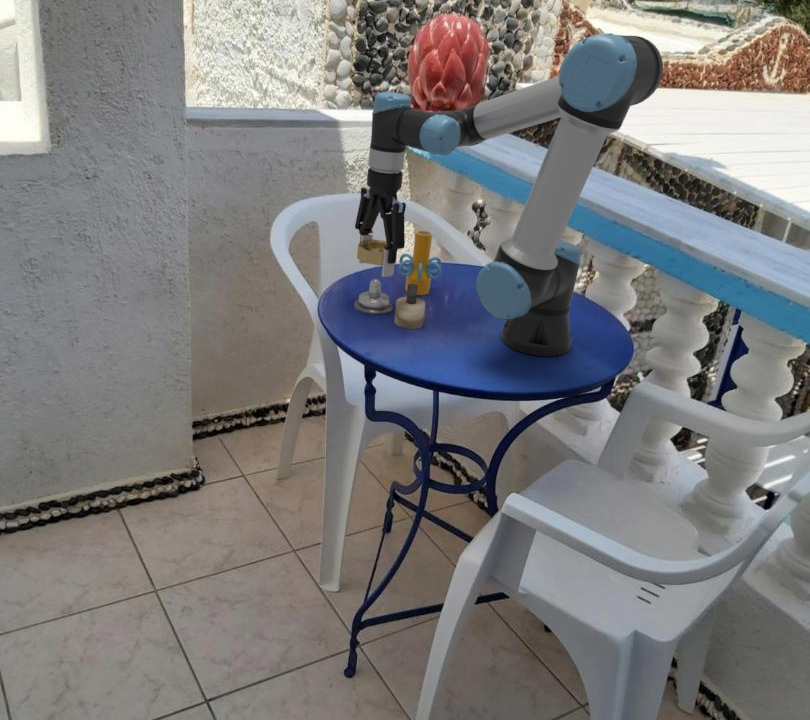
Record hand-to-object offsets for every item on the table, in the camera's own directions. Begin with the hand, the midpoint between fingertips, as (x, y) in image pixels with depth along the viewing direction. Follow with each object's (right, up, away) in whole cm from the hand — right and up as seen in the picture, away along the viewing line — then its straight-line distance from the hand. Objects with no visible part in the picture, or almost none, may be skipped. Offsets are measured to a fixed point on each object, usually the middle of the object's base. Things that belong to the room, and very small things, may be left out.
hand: (375, 268), depth 174 cm
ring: (0, +2, -1) cm, 2 cm away
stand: (+7, -12, -3) cm, 15 cm away
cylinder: (+10, -4, +16) cm, 19 cm away
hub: (-1, -8, +4) cm, 9 cm away
